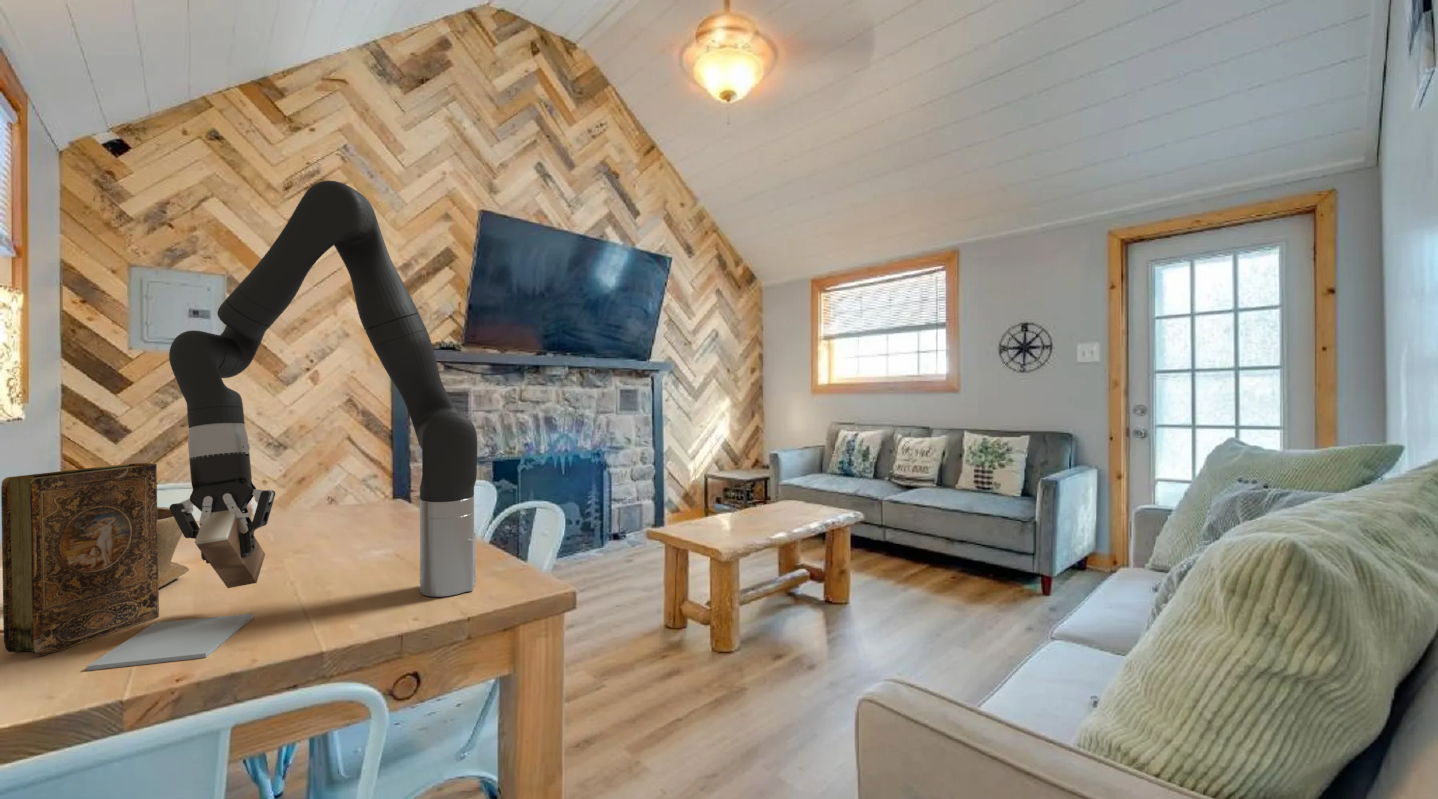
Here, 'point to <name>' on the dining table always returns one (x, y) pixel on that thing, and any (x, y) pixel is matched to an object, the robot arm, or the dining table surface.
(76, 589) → the book
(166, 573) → the stone cup
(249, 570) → the brown rectangular block
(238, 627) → the felt mat
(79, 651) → the dining table surface
